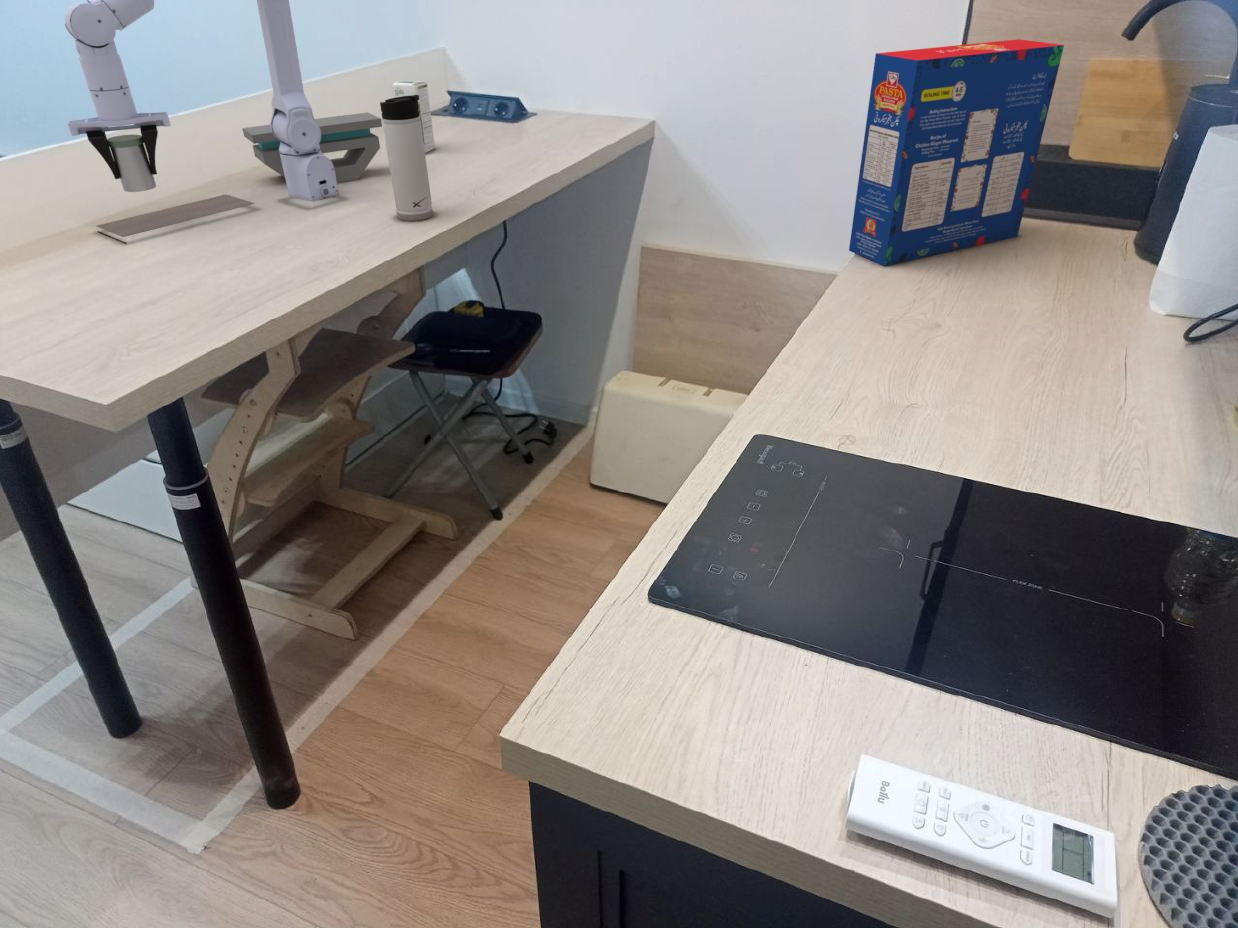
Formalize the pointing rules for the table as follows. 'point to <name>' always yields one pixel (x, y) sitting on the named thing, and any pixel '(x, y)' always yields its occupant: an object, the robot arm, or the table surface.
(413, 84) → the syrup box
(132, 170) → the tin
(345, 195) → the table surface
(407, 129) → the travel mug
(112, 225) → the board
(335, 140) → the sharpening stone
